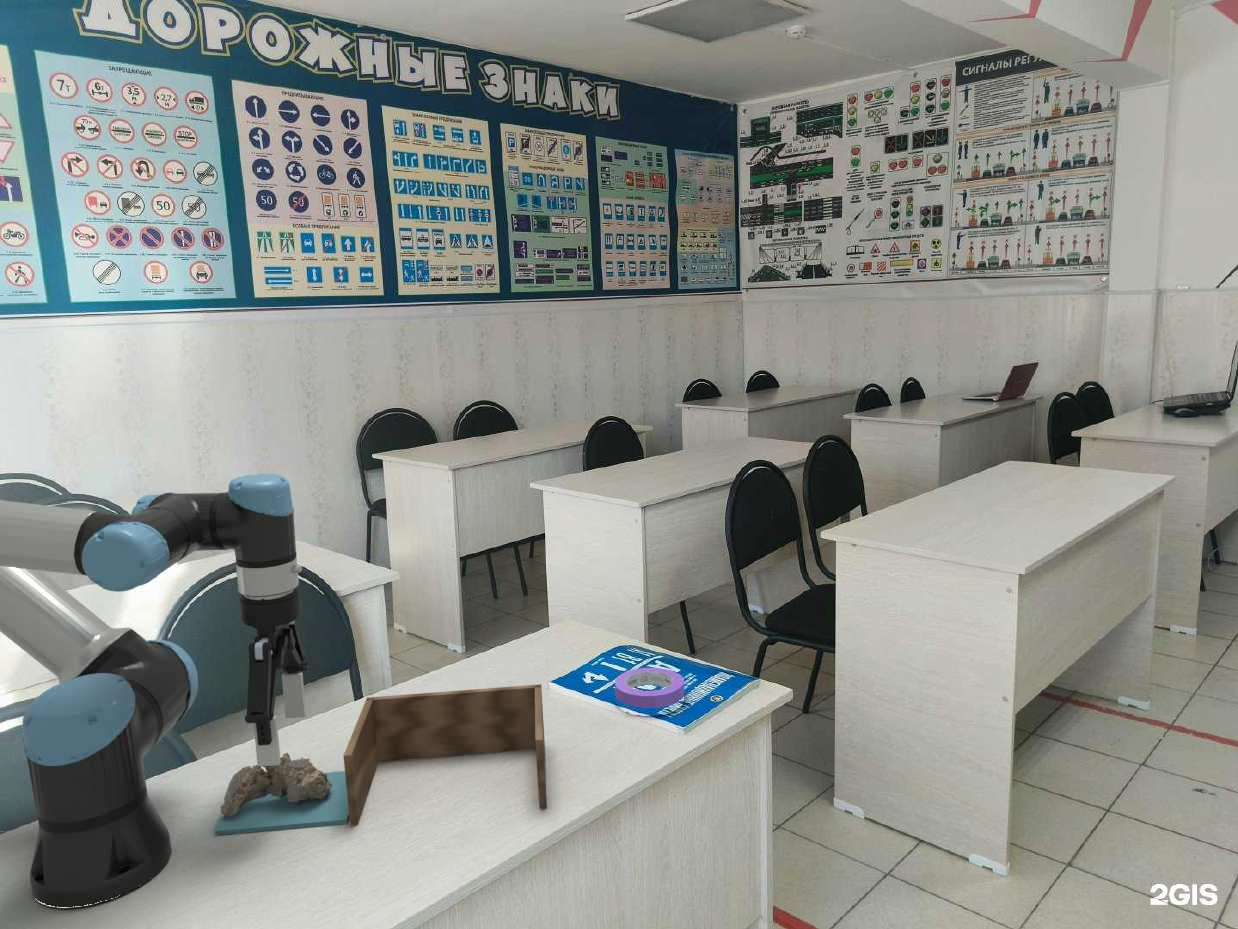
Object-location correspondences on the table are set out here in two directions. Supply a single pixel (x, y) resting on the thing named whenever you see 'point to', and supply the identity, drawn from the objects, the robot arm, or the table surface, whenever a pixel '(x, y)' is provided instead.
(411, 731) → the walnut cubby
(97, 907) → the table surface
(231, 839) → the table surface
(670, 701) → the masking tape
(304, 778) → the rock
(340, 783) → the teal rubber mat
